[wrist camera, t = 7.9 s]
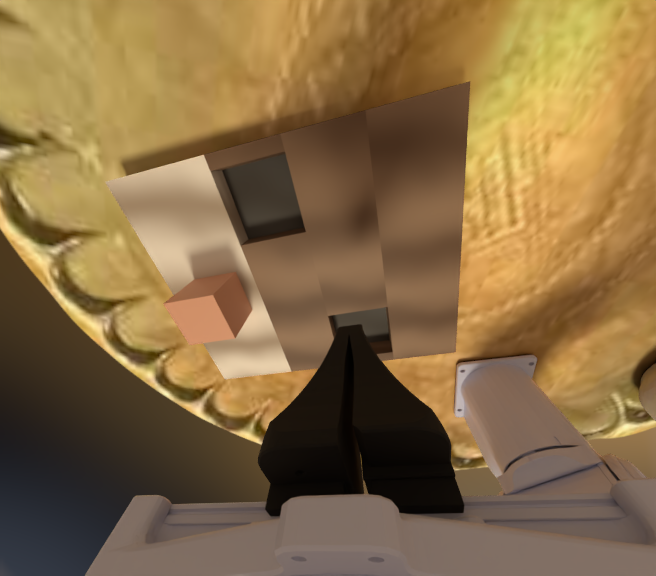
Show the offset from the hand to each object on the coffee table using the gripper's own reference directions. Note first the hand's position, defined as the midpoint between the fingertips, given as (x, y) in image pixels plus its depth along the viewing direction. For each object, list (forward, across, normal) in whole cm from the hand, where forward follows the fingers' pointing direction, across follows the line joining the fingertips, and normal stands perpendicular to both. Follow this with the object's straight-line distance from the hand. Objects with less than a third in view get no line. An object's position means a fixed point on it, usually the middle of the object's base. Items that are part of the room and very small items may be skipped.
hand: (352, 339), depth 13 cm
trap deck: (+9, +4, -1) cm, 10 cm away
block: (+7, +11, -1) cm, 13 cm away
